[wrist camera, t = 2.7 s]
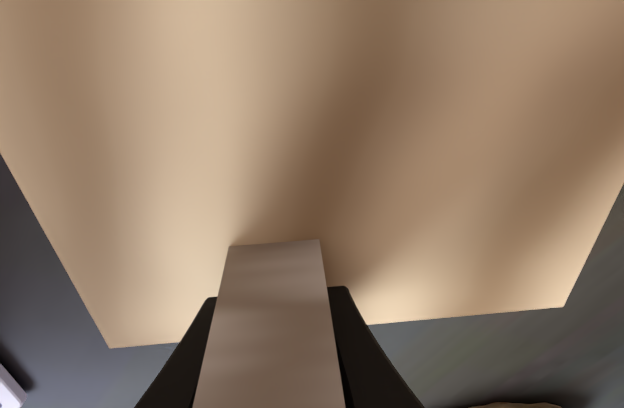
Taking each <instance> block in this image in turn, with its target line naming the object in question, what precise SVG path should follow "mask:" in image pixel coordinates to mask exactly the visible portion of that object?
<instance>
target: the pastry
mask: <svg viewBox="0 0 624 408" xmlns="http://www.w3.org/2000/svg"><path fill="white" fill-rule="evenodd" d="M470 408H561V407H559V406H557V405H553V404H548V403H546V402H545V403H535V404H523V403H507V402H494V403H491V404H489V405H484V406H475V407H470Z"/></svg>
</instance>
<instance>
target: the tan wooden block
mask: <svg viewBox="0 0 624 408" xmlns="http://www.w3.org/2000/svg"><path fill="white" fill-rule="evenodd" d="M193 408H345V401H344V395H343V388H342V382H341V376H340V369H339V363H338V356H337V350H336V343H335V337H334V331H333V324H332V318H331V311H330V305H329V299H328V292H327V286H326V279H325V273H324V266H323V260H322V254H321V247H320V241H319V239H315V240H302V241H290V242H277V243H265V244H253V245H240V246H229V248H228V252H227V257H226V261H225V266H224V270H223V274H222V279H221V283H220V288H219V292H218V297H217V301H216V306H215V310H214V314H213V319H212V323H211V328H210V332H209V337H208V341H207V345H206V350H205V354H204V359H203V363H202V368H201V372H200V377H199V381H198V385H197V390H196V394H195V399H194V403H193Z"/></svg>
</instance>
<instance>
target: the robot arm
mask: <svg viewBox="0 0 624 408" xmlns="http://www.w3.org/2000/svg"><path fill="white" fill-rule="evenodd" d="M327 292H328V299H329V305H330V311H331V318H332V324H333V331H334V337H335V343H336V350H337V356H338V363H339V369H340V376H341V382H342V388H343V395H344V401H345V408H425V407H424V406H423V405H422V403H421V402H420V401H419V400H418V398H417V397H416V396H415V395H414V393H413V392H412V391H411V389H410V388H409V387H408V385H407V384H406V383H405V381H404V380H403V378H402V377H401V376H400V374H399V373H398V372H397V370H396V369H395V367H394V366H393V365H392V363H391V362H390V360H389V359H388V357H387V356H386V354H385V353H384V351H383V350H382V348H381V347H380V345H379V344H378V342H377V340H376V339H375V337H374V336H373V334H372V333H371V331H370V329H369V328H368V326H367V324H366V323H365V321H364V319H363V317H362V316H361V314H360V312H359V310H358V308H357V306H356V304H355V302H354V300H353V298H352V296H351V294H350V292H349V289H348V288H347V287H346V286H333V287H327ZM216 301H217V297H208V298H207V299H206V300H205V301H204V303H203V305H202V306H201V308H200V310H199V312H198V313H197V315H196V317H195V318H194V320H193V322H192V323H191V325H190V327H189V328H188V330H187V331H186V333H185V335H184V336H183V338H182V339H181V341H180V343H179V344H178V346H177V347H176V349H175V350H174V352H173V353H172V355H171V356H170V358H169V359H168V361H167V362H166V364H165V365H164V367H163V368H162V370H161V371H160V373H159V374H158V375H157V377H156V378H155V380H154V381H153V382H152V384H151V385H150V387H149V388H148V389H147V391H146V392H145V393H144V395H143V396H142V398H141V399H140V400H139V402H138V403H137V404H136V406H135V407H134V408H193V403H194V399H195V394H196V390H197V385H198V381H199V377H200V372H201V368H202V363H203V359H204V354H205V350H206V345H207V341H208V337H209V332H210V328H211V323H212V319H213V314H214V310H215V306H216ZM26 398H27V395H26V393H25V391H24V390H23V389H22V388H21V387H20V385H19V384H18V383H17V382H16V381H15V380H14V378H13V377H12V376H11V375H10V374H9V373H8V371H7V370H6V369H5V368H4V367H3V366H2V364H1V363H0V408H19V407H21V406H22V405H23V403H24V402H25V400H26Z"/></svg>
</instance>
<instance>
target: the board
mask: <svg viewBox="0 0 624 408" xmlns="http://www.w3.org/2000/svg"><path fill="white" fill-rule="evenodd" d="M0 153H1V155H2V157H3V159H4V160H5V162H6V164H7V166H8V168H9V169H10V171H11V173H12V175H13V177H14V178H15V180H16V182H17V184H18V185H19V187H20V189H21V191H22V193H23V194H24V196H25V198H26V200H27V202H28V203H29V205H30V207H31V209H32V211H33V212H34V214H35V216H36V218H37V220H38V221H39V223H40V225H41V227H42V228H43V230H44V232H45V234H46V236H47V237H48V239H49V241H50V243H51V245H52V246H53V248H54V250H55V252H56V254H57V255H58V257H59V259H60V261H61V263H62V264H63V266H64V268H65V270H66V271H67V273H68V275H69V277H70V279H71V280H72V282H73V284H74V286H75V288H76V289H77V291H78V293H79V295H80V297H81V298H82V300H83V302H84V304H85V306H86V307H87V309H88V311H89V313H90V314H91V316H92V318H93V320H94V322H95V323H96V325H97V327H98V329H99V331H100V332H101V334H102V336H103V338H104V340H105V341H106V343H107V345H108V347H109V348H120V347H131V346H142V345H153V344H164V343H174V342H180V341H181V339H182V338H183V336H184V335H185V333H186V331H187V330H188V328H189V327H190V325H191V323H192V322H193V320H194V318H195V317H196V315H197V313H198V312H199V310H200V308H201V306H202V305H203V303H204V301H205V300H206V299H207V298H208V297H218V292H219V288H220V283H221V279H222V274H223V270H224V266H225V261H226V257H227V252H228V248H229V246H240V245H253V244H265V243H277V242H290V241H302V240H315V239H319V241H320V247H321V254H322V260H323V266H324V273H325V279H326V286H327V287H333V286H346V287H347V288H348V289H349V292H350V294H351V296H352V298H353V300H354V302H355V304H356V306H357V308H358V310H359V312H360V314H361V316H362V317H363V319H364V321H365V323H366V324H367V325H370V324H381V323H392V322H403V321H414V320H425V319H436V318H446V317H457V316H468V315H479V314H490V313H501V312H512V311H523V310H533V309H544V308H555V307H563V306H564V304H565V302H566V300H567V298H568V296H569V294H570V292H571V290H572V288H573V286H574V284H575V282H576V280H577V278H578V276H579V273H580V271H581V269H582V267H583V265H584V263H585V261H586V259H587V257H588V255H589V253H590V251H591V249H592V247H593V245H594V243H595V241H596V239H597V237H598V235H599V233H600V230H601V228H602V226H603V224H604V222H605V220H606V218H607V216H608V214H609V212H610V210H611V208H612V206H613V204H614V202H615V200H616V198H617V196H618V194H619V192H620V190H621V188H622V185H623V183H624V0H0Z"/></svg>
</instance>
